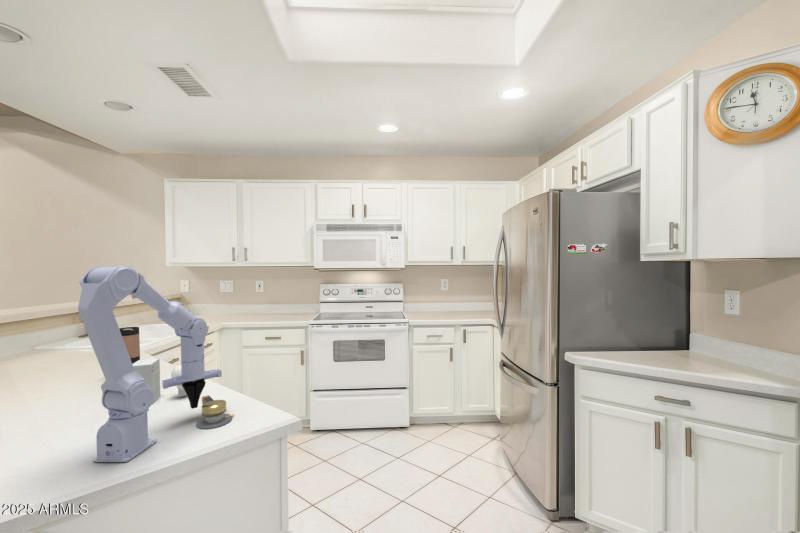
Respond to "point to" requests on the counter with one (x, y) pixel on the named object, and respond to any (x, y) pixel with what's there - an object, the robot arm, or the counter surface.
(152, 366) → the small box
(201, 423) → the post base
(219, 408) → the collar
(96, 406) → the counter surface
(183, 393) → the lightbulb
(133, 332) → the travel mug
